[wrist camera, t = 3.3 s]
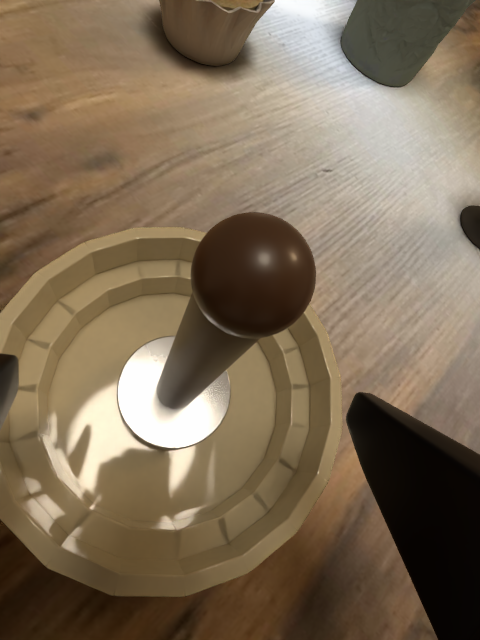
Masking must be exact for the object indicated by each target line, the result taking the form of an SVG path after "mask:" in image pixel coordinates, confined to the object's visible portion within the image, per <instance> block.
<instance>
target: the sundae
mask: <svg viewBox="0 0 480 640" xmlns="http://www.w3.org/2000/svg"><path fill="white" fill-rule="evenodd" d="M461 223H462V226H463V229H464V231H465V233H466V234H467V236H468V237H469V239H470V240H471V241H472V242H473V243H474V244H475V245H476V246H478V247H479V248H480V206H468V207H466V208H465V209H464V210H463V211H462V213H461Z"/></svg>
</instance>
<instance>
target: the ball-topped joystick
mask: <svg viewBox="0 0 480 640" xmlns="http://www.w3.org/2000/svg"><path fill="white" fill-rule="evenodd" d="M190 276H191V287H192V291H193V292H192V294H191V297H190V300H189V302H188V305H187V307H186V310H185V313H184V315H183V318H182V321H181V323H180V326H179V328H178V331H177V334H176V336H165V337H160V338H157V339H154V340H152V341H149V342H148V343H146V344H144V345H142V346H141V347H140V348H138V349H137V350H136V351H135V352H134V353H133V354H132V355H131V356H130V357H129V359H128V360H127V361H126V363H125V365H124V366H123V368H122V371H121V373H120V376H119V379H118V384H117V403H118V408H119V412H120V416H121V418H122V421H123V423H124V424H125V426H126V428H127V429H128V430H129V432H130V433H131V434H132V435H133V436H134V437H135V438H136V439H138V440H139V441H141V442H142V443H144V444H146V445H148V446H150V447H153V448H156V449H161V450H177V449H183V448H187V447H191V446H193V445H196V444H198V443H200V442H202V441H203V440H205V439H206V438H208V437H209V436H210V435H212V434H213V433H214V432H215V431H216V430H217V428H218V427H219V426H220V424H221V423H222V421H223V420H224V418H225V416H226V413H227V411H228V408H229V404H230V398H231V385H230V379H229V375H228V372H227V369H228V368H229V367H230V366H231V365H232V364H233V363H234V362H235V361H237V360H238V359H239V358H240V357H241V356H242V355H243V354H244V353H245V352H246V351H247V350H249V349H250V348H251V347H252V346H253V345H254V344H255V343H256V342H257V341H258V340H259V339H260V338H264V337H269V336H272V335H275V334H278V333H280V332H282V331H284V330H285V329H287V328H288V327H290V326H291V325H293V324H294V323H295V322H296V321H297V320H298V319H299V318H300V317H301V316H302V314H303V313H304V312H305V310H306V308H307V307H308V305H309V303H310V301H311V298H312V295H313V292H314V289H315V282H316V268H315V262H314V258H313V255H312V252H311V249H310V247H309V245H308V244H307V242H306V240H305V239H304V237H303V236H302V235H301V234H300V233H299V232H298V230H297V229H295V228H294V227H293V226H292V225H291V224H289V223H288V222H286V221H284V220H283V219H281V218H278V217H276V216H273V215H270V214H265V213H259V212H248V213H242V214H237V215H234V216H231V217H229V218H227V219H224V220H222V221H221V222H219V223H218V224H216V225H215V226H214V227H213V228H212V229H210V230H209V231H208V232H207V234H206V235H205V236H204V237H203V239H202V240H201V241H200V243H199V245H198V247H197V249H196V251H195V254H194V256H193V260H192V265H191V275H190Z"/></svg>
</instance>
